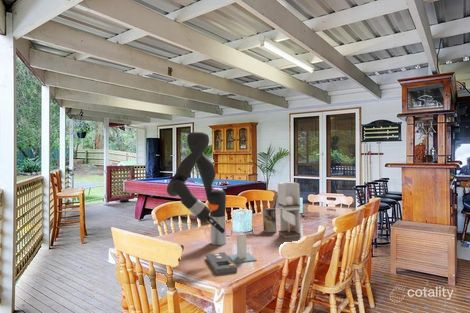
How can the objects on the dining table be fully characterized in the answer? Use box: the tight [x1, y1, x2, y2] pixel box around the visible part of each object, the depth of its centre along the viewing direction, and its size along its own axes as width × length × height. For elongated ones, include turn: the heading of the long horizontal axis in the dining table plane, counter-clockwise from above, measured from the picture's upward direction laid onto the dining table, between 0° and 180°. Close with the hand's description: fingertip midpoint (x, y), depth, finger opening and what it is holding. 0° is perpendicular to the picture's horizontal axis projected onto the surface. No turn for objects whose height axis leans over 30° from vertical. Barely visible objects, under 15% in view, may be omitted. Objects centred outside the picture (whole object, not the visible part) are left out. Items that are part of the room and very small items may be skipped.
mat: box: [227, 252, 257, 264], centre depth 170 cm, size 12×12×1 cm
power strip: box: [205, 252, 238, 275], centre depth 163 cm, size 28×10×3 cm, turn 16°
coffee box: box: [262, 207, 277, 233], centre depth 230 cm, size 9×6×16 cm
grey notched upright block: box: [277, 181, 302, 238], centre depth 217 cm, size 11×11×35 cm
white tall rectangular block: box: [236, 232, 248, 259], centre depth 170 cm, size 4×4×12 cm
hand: (221, 230), depth 168 cm, fingers open, 8 cm apart
